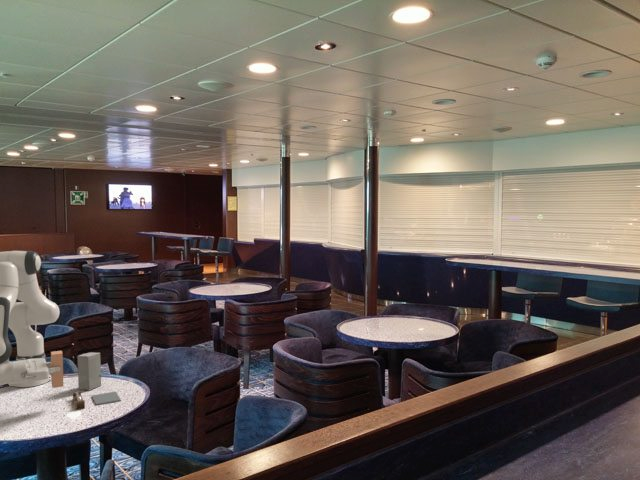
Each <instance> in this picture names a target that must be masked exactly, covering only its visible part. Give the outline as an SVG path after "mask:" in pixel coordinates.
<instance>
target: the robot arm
mask: <svg viewBox="0 0 640 480" xmlns="http://www.w3.org/2000/svg"><path fill="white" fill-rule="evenodd" d="M41 266H42V259H41V256H40V255H39V254H38V252H36V251H33V250H11V251H10V250H7V251H0V387H1V386H3V385H7V384H8V385H9V386H8V387H17V388H30V387H31V388H32V387H36V386H40V385H41V386H42V385H43V384H46V383H48V382H52V379H51V373H54V372H57V371H60V366H55V367H53V368H51V361H46V353H45V348H44V347H45V345H44V344H45V343H44V337H43V335H42V334H41V333H40V332H38V331H36V330H34V329H33V328H32V327H31V326H37V325H38V326H40V325H41V326H42V325H49V324H53V323H55V322H57V320H59V319H58V318H59V317H60V307H59V306H58V304H57V303H56V302H53V301H52V300H50V299H48V298H47V297H46V296H45V294H43V292H42V291H41V289H40V286H39V281H38V277H37V273H38V272H40V269H41ZM17 300H18V301H19V302H18V301H17ZM9 330H10V331H11V332H12V333H13V336H14V337H15V341H16V352H17V354H16V357H15V360H16V361H15V360H14V361H10V357H11V355H12V351H13V348H12V343H11V341H10V339H9V335H8V333H9ZM49 377H50V378H49Z"/></svg>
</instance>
